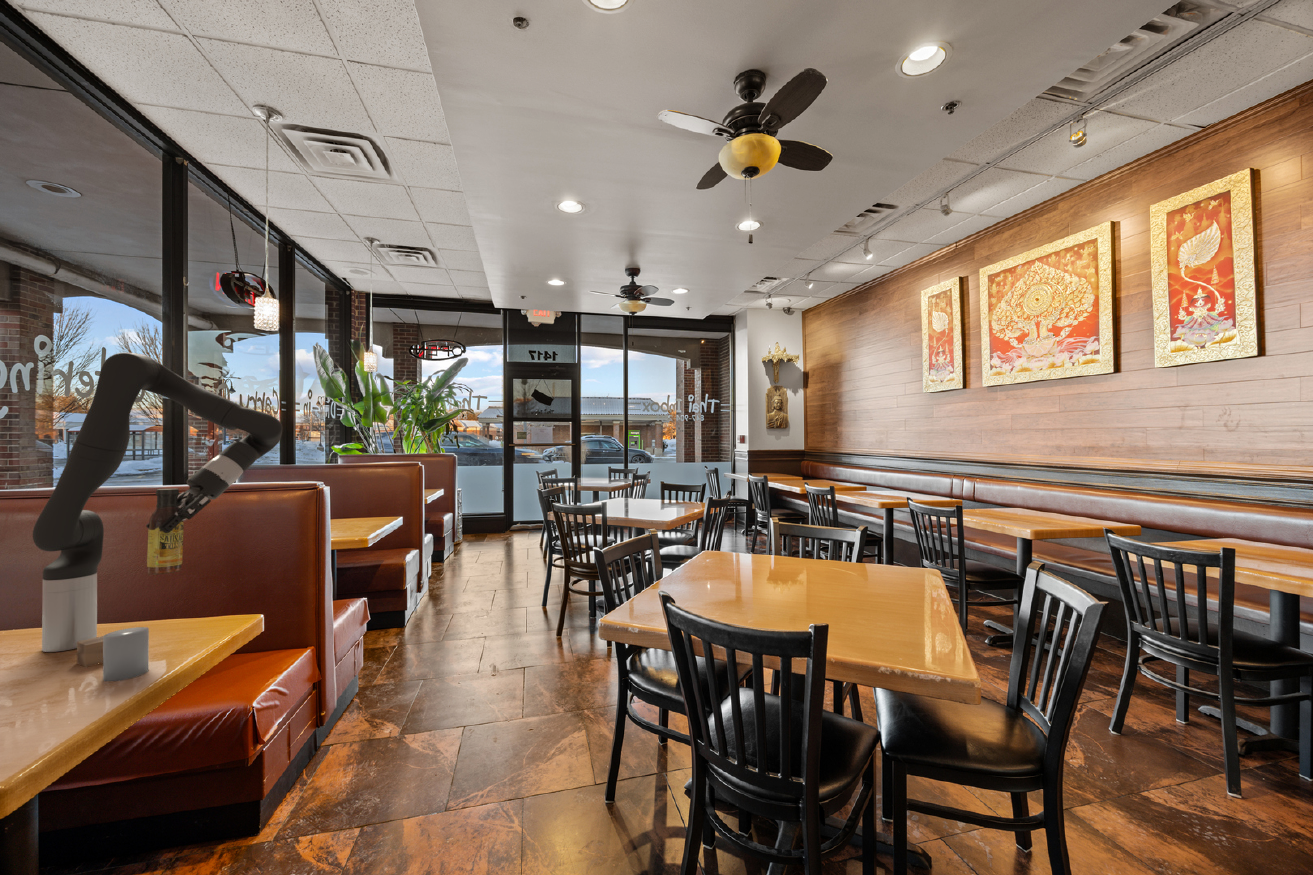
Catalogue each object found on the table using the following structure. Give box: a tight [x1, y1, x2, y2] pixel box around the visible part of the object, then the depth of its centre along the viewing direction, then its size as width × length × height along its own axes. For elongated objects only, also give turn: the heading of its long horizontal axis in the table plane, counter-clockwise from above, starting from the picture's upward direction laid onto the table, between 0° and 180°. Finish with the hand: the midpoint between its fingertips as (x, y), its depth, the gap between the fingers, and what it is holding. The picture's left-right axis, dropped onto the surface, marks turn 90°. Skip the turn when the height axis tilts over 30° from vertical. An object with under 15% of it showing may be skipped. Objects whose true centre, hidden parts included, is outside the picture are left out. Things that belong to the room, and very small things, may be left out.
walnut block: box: [76, 635, 104, 668], centre depth 124 cm, size 5×5×5 cm
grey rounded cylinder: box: [102, 626, 150, 682], centre depth 116 cm, size 7×7×9 cm
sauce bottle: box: [146, 488, 184, 576], centre depth 129 cm, size 7×6×20 cm
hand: (156, 529), depth 127 cm, fingers closed on sauce bottle, 6 cm apart
